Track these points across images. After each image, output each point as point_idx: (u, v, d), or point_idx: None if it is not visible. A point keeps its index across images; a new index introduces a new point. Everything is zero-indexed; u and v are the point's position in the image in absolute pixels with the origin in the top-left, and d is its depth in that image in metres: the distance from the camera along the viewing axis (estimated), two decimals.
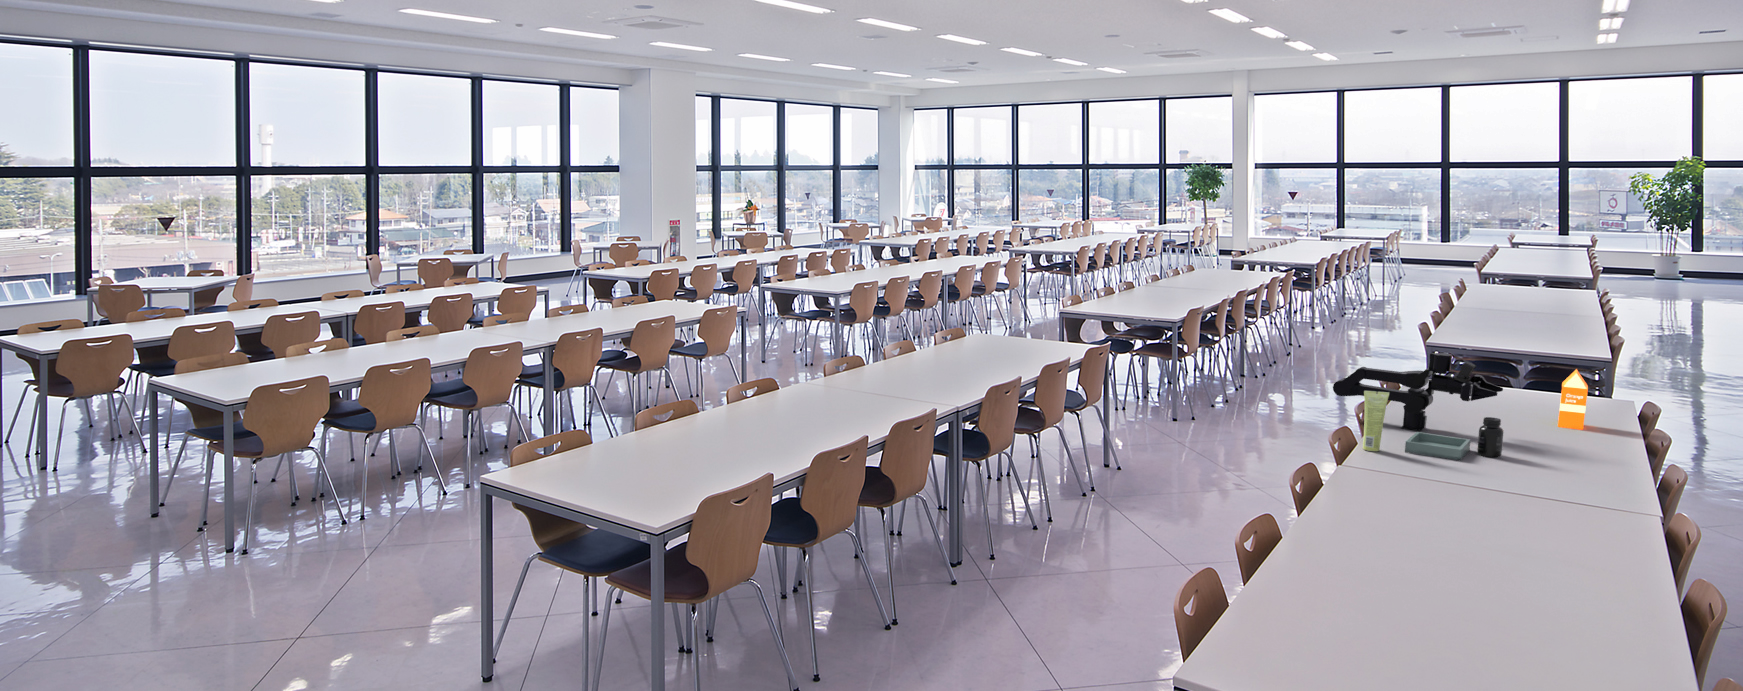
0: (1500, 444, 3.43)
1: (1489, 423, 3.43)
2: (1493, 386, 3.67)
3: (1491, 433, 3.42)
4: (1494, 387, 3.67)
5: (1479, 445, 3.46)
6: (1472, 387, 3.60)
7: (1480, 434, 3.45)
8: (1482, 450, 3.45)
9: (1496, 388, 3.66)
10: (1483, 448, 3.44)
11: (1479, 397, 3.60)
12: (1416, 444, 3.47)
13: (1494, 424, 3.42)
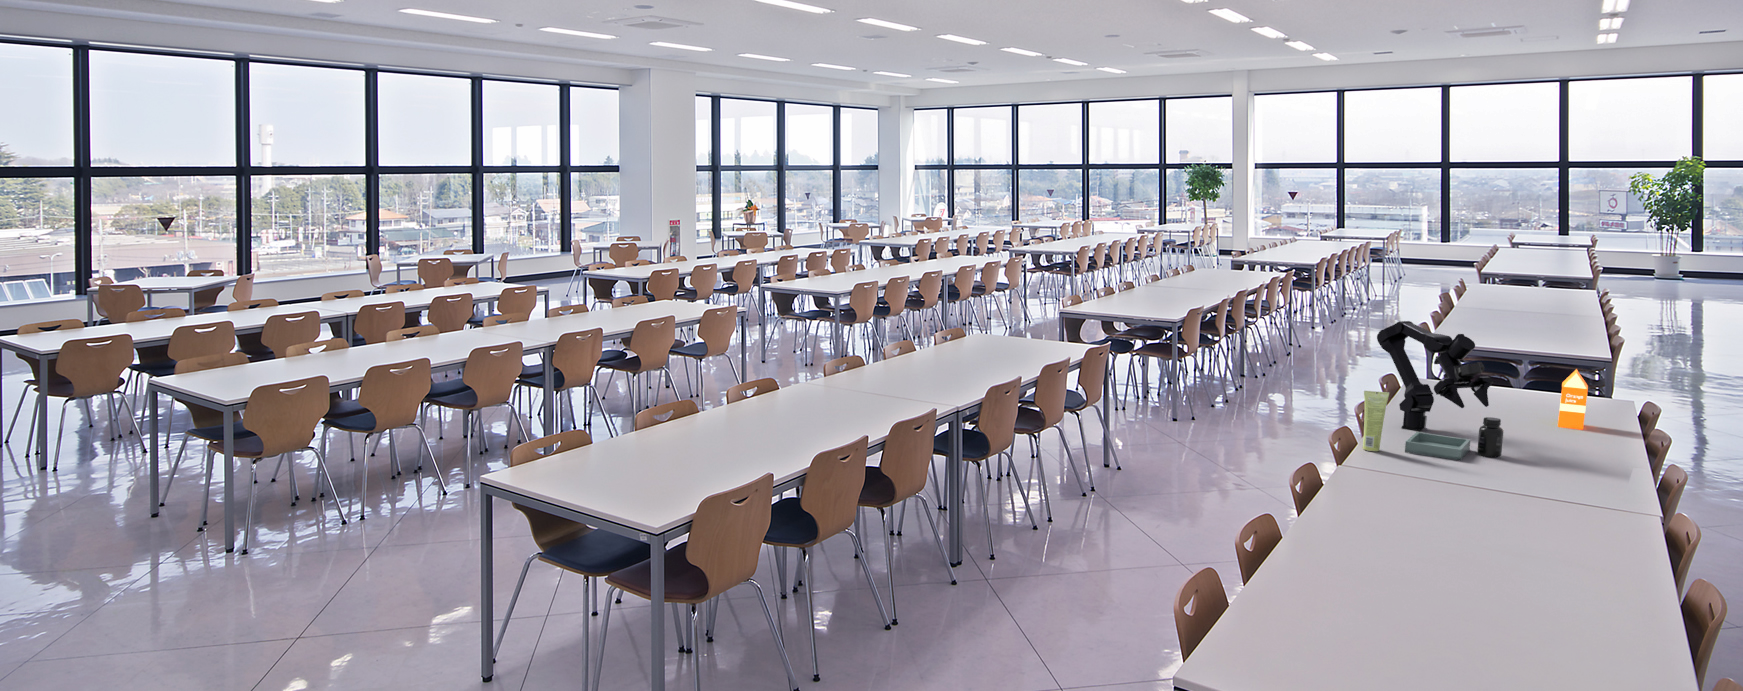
0: (1500, 444, 3.43)
1: (1489, 423, 3.43)
2: (1484, 397, 3.54)
3: (1491, 433, 3.42)
4: (1484, 399, 3.54)
5: (1479, 445, 3.46)
6: (1447, 387, 3.53)
7: (1480, 434, 3.45)
8: (1482, 450, 3.45)
9: (1484, 401, 3.54)
10: (1483, 448, 3.44)
11: (1449, 398, 3.55)
12: (1416, 444, 3.47)
13: (1494, 424, 3.42)
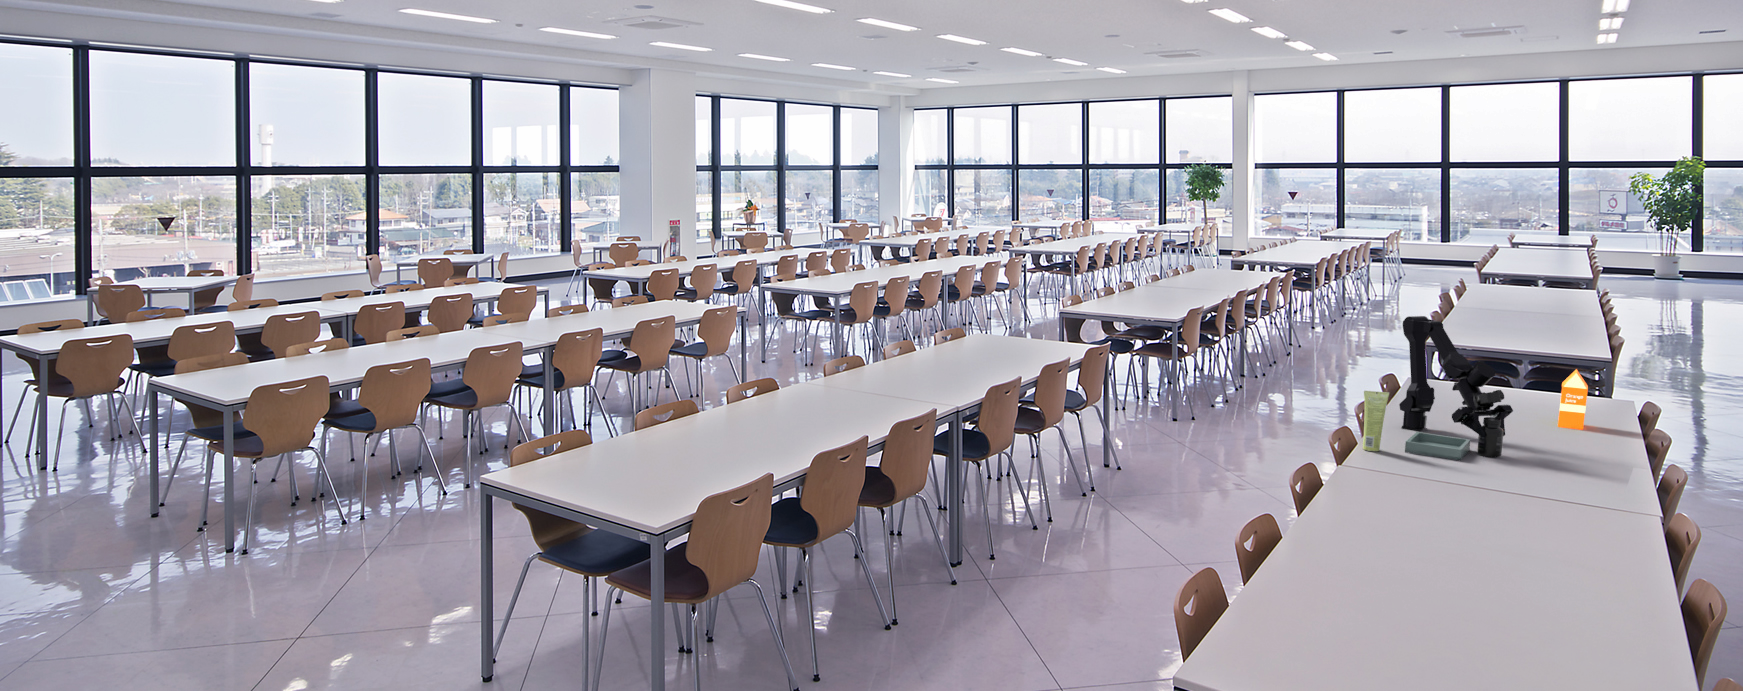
0: (1500, 444, 3.43)
1: (1489, 423, 3.43)
2: None
3: (1491, 433, 3.42)
4: None
5: (1479, 445, 3.46)
6: (1468, 415, 3.45)
7: None
8: (1482, 450, 3.45)
9: None
10: (1483, 448, 3.44)
11: (1470, 426, 3.47)
12: (1416, 444, 3.47)
13: (1494, 424, 3.42)
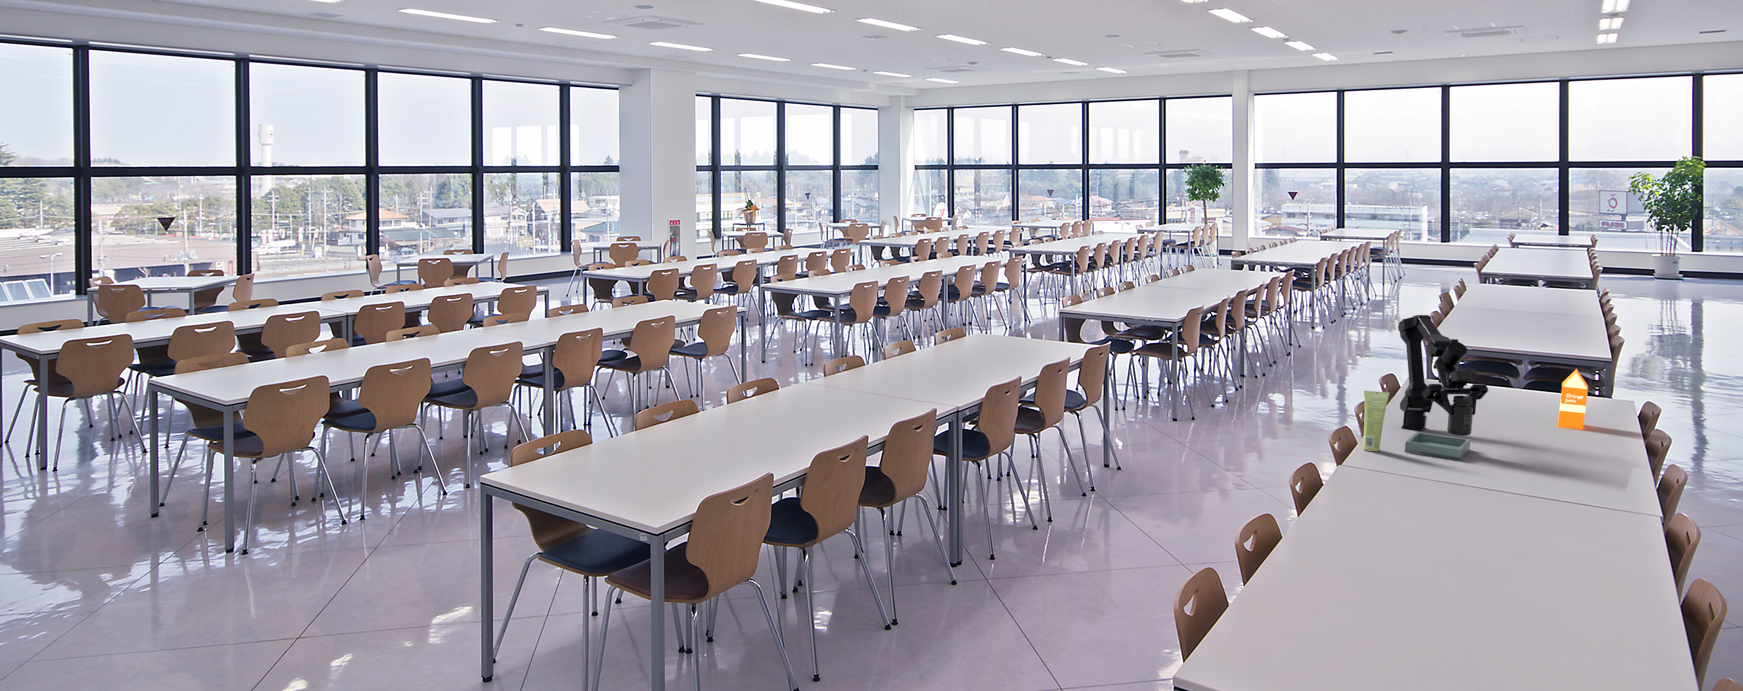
0: (1468, 422, 3.44)
1: (1457, 401, 3.45)
2: (1472, 405, 3.46)
3: (1458, 411, 3.44)
4: (1472, 407, 3.47)
5: (1448, 423, 3.48)
6: (1437, 393, 3.48)
7: None
8: (1450, 427, 3.47)
9: None
10: (1451, 425, 3.46)
11: (1439, 404, 3.49)
12: (1416, 444, 3.47)
13: (1462, 402, 3.44)
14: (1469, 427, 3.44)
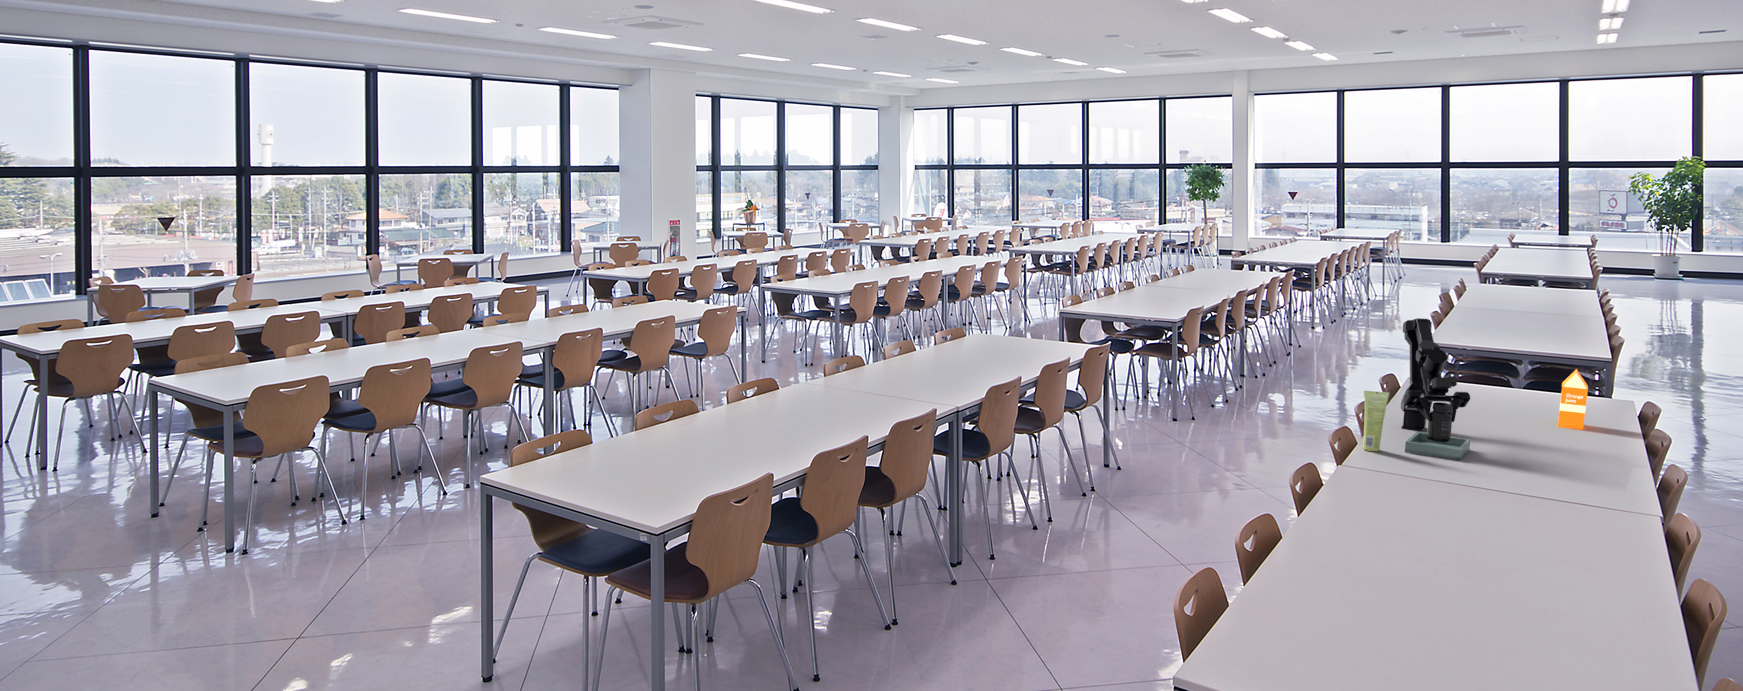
0: (1446, 429, 3.47)
1: (1436, 408, 3.48)
2: (1452, 412, 3.49)
3: (1436, 418, 3.47)
4: (1452, 414, 3.49)
5: None
6: (1416, 399, 3.52)
7: None
8: (1429, 434, 3.50)
9: None
10: (1430, 432, 3.50)
11: (1420, 410, 3.53)
12: (1416, 444, 3.47)
13: (1440, 409, 3.47)
14: (1447, 434, 3.47)
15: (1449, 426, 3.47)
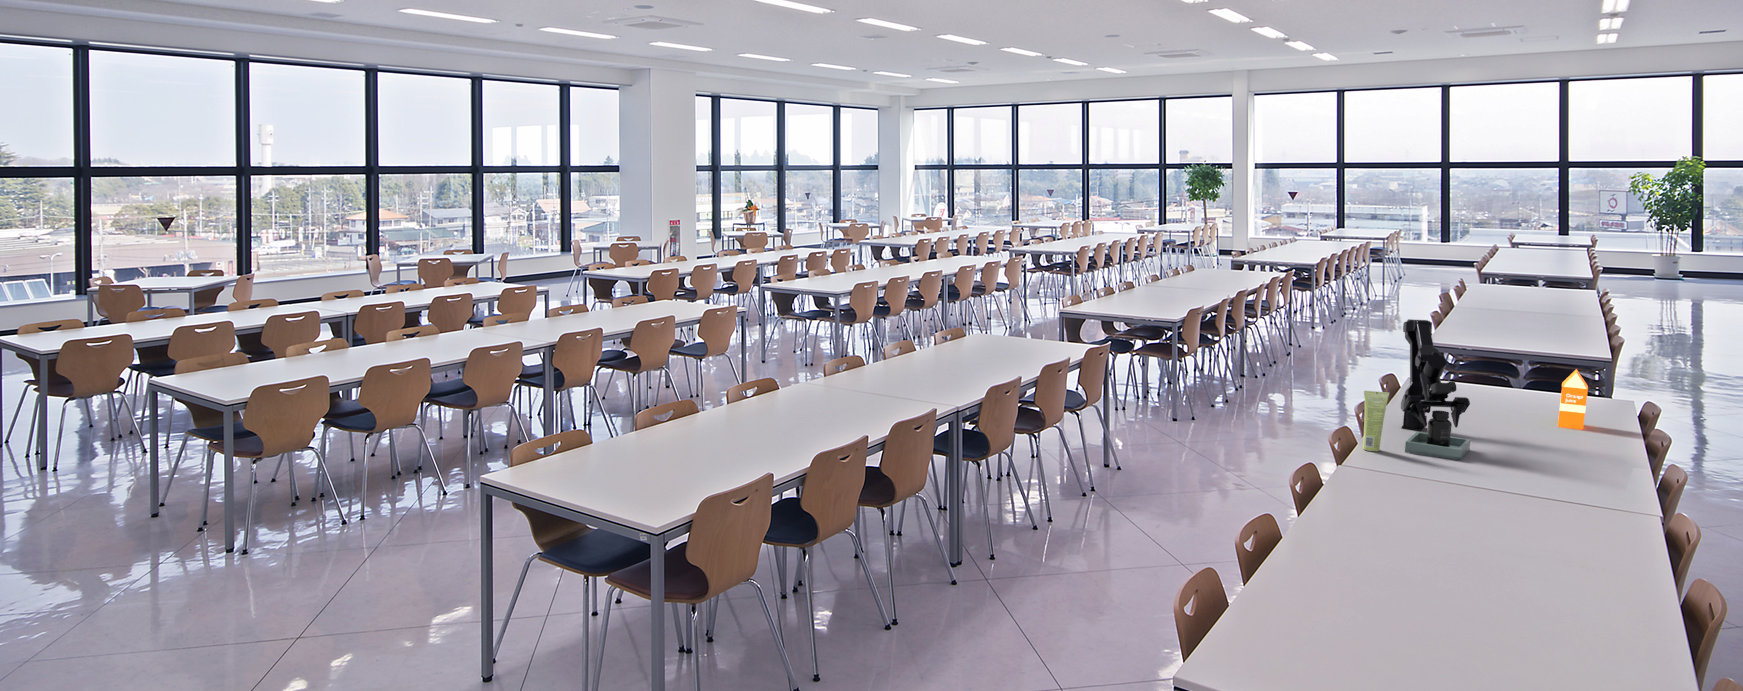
0: (1445, 437, 3.47)
1: (1435, 415, 3.48)
2: (1455, 418, 3.49)
3: (1435, 426, 3.48)
4: (1455, 419, 3.49)
5: (1427, 437, 3.52)
6: (1412, 404, 3.52)
7: None
8: (1428, 442, 3.50)
9: (1454, 421, 3.49)
10: (1429, 440, 3.50)
11: (1416, 415, 3.53)
12: (1416, 444, 3.47)
13: (1439, 417, 3.47)
14: (1446, 442, 3.47)
15: (1448, 434, 3.47)
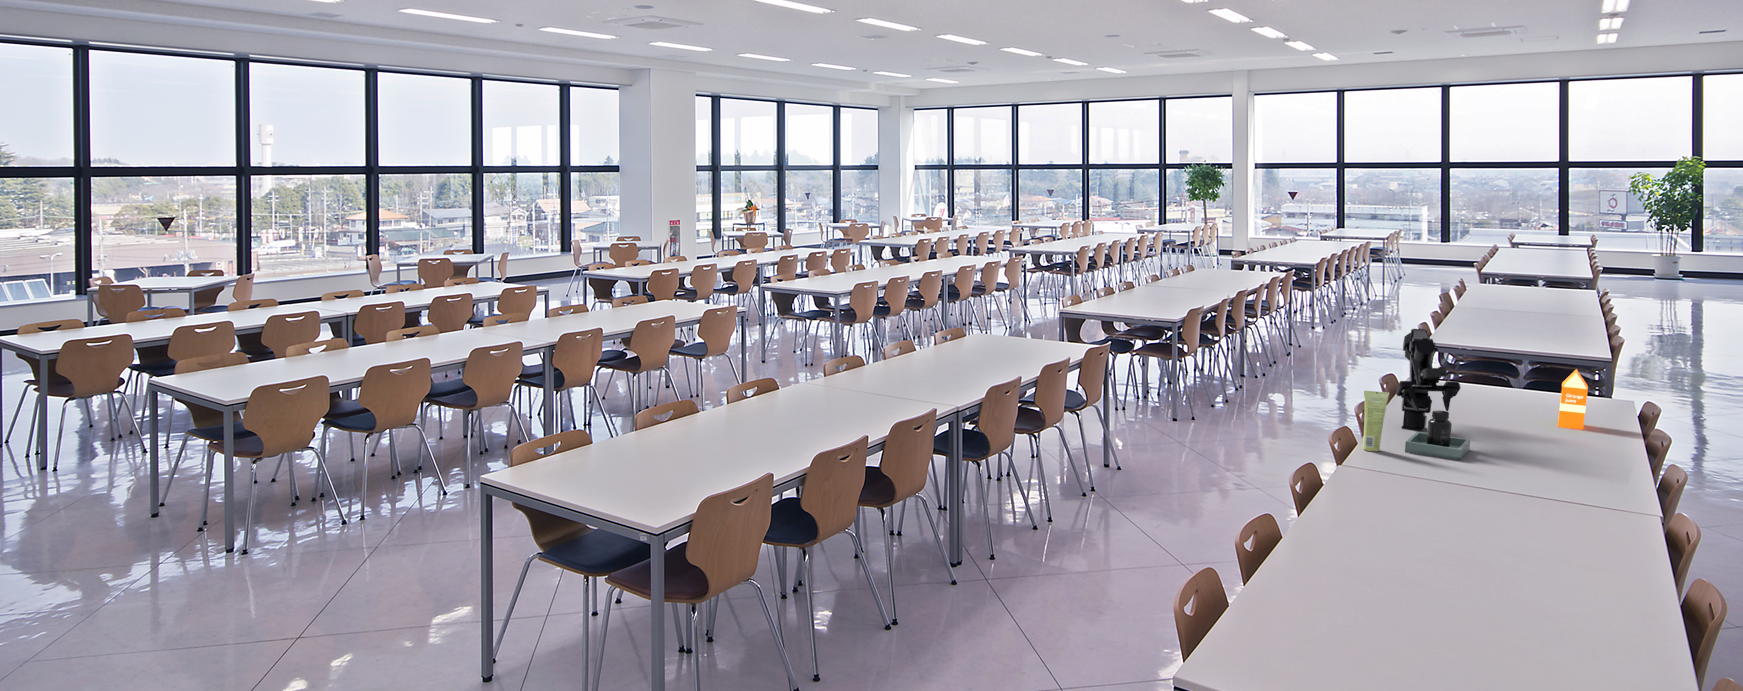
0: (1445, 437, 3.47)
1: (1435, 416, 3.48)
2: (1446, 402, 3.57)
3: (1435, 426, 3.48)
4: (1446, 403, 3.58)
5: (1427, 437, 3.52)
6: (1404, 389, 3.61)
7: None
8: (1428, 442, 3.50)
9: (1446, 405, 3.57)
10: (1429, 440, 3.50)
11: (1408, 400, 3.62)
12: (1416, 444, 3.47)
13: (1439, 417, 3.47)
14: (1446, 442, 3.47)
15: (1448, 434, 3.47)
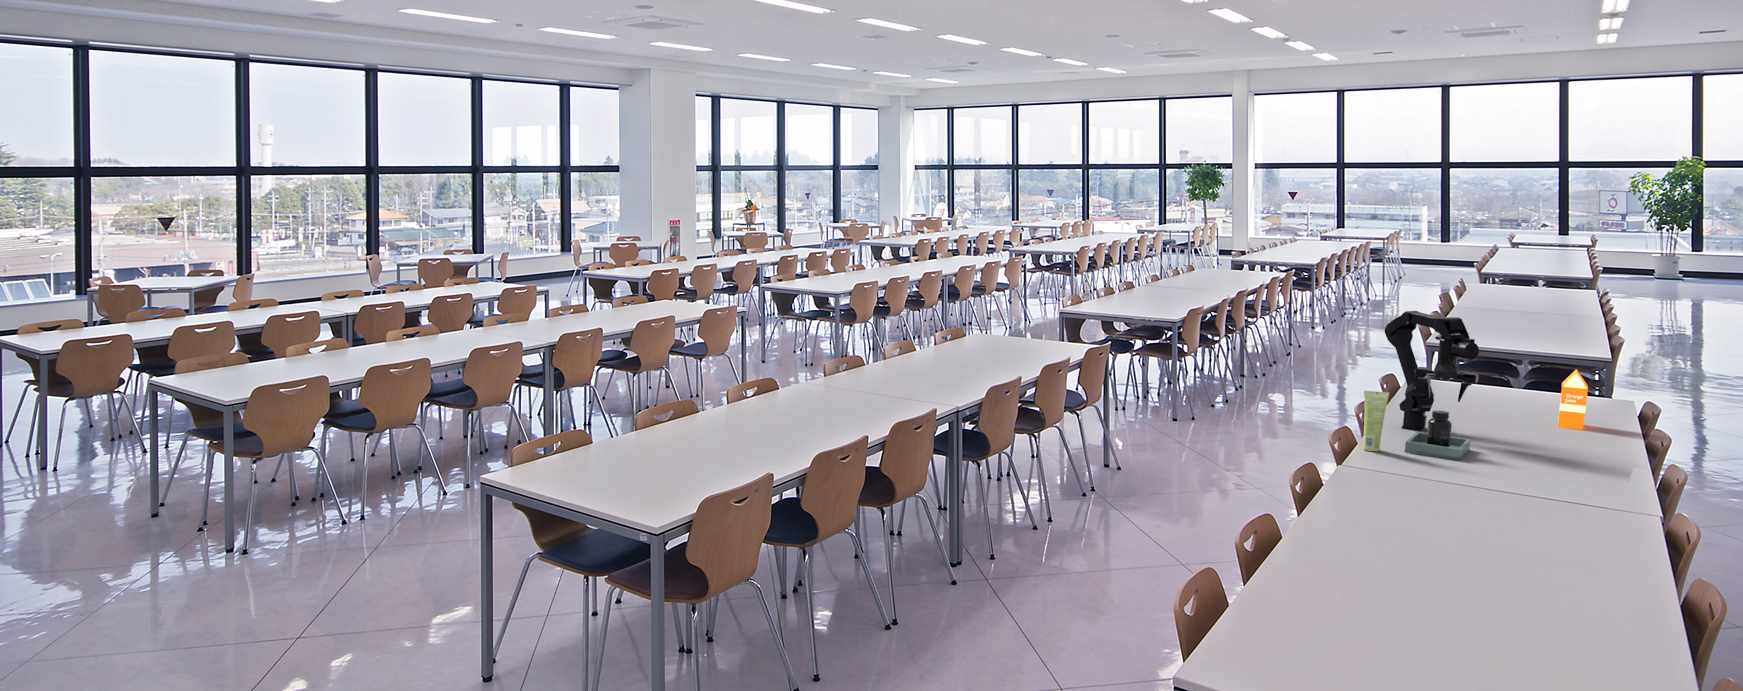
0: (1445, 437, 3.47)
1: (1435, 416, 3.48)
2: (1459, 393, 3.62)
3: (1435, 426, 3.48)
4: None
5: (1427, 437, 3.52)
6: (1418, 377, 3.69)
7: None
8: (1428, 442, 3.50)
9: (1458, 396, 3.63)
10: (1429, 440, 3.50)
11: None
12: (1416, 444, 3.47)
13: (1439, 417, 3.47)
14: (1446, 442, 3.47)
15: (1448, 434, 3.47)
